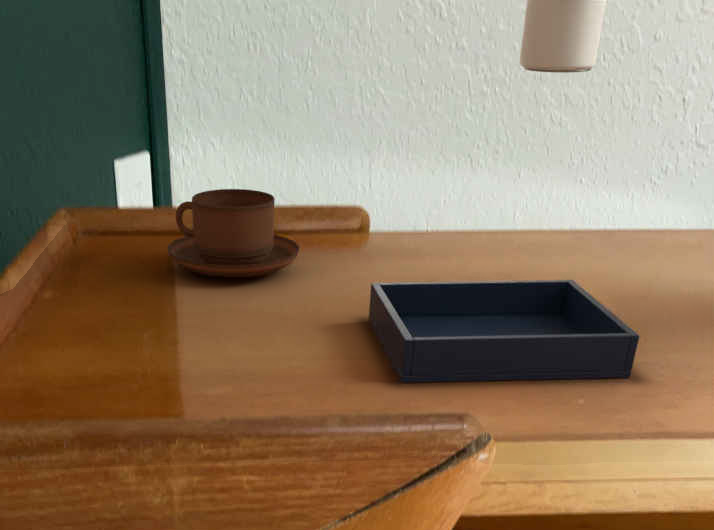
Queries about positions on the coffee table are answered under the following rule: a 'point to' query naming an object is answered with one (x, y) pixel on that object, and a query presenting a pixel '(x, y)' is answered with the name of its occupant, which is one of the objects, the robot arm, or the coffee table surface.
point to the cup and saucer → (231, 235)
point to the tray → (499, 331)
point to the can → (561, 35)
